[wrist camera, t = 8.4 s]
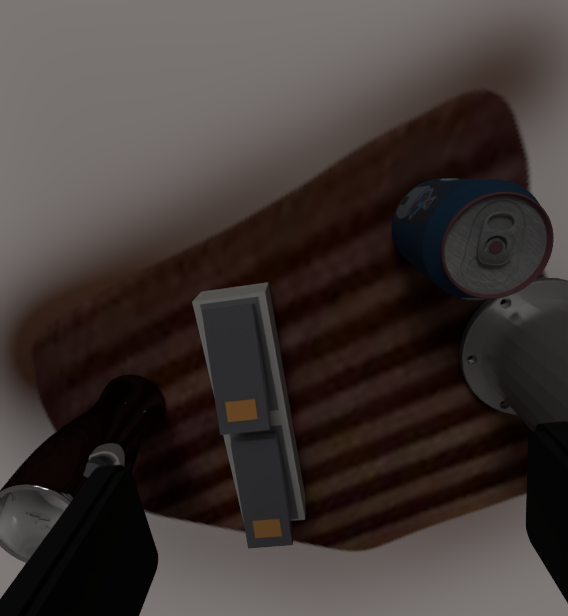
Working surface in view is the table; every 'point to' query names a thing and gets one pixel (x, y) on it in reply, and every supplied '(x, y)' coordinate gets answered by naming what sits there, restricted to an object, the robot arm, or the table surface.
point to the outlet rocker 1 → (237, 369)
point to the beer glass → (76, 461)
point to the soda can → (474, 236)
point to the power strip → (273, 380)
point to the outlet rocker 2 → (262, 490)
